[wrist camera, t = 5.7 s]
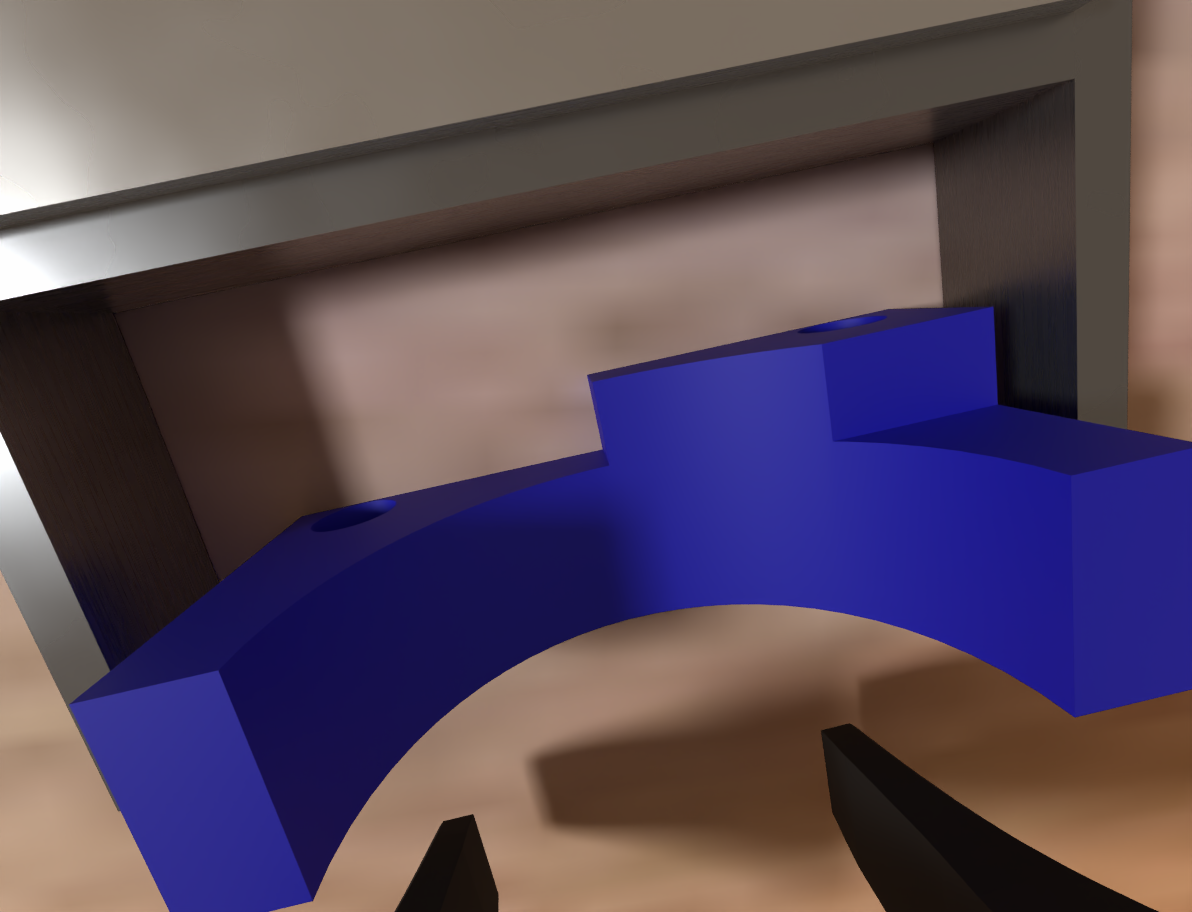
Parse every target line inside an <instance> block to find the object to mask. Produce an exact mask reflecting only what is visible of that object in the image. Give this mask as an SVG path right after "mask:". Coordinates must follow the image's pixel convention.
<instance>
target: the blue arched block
mask: <svg viewBox="0 0 1192 912" xmlns="http://www.w3.org/2000/svg"><path fill="white" fill-rule="evenodd" d="M587 376H588V381H589V386H590V391H591V395H592V400H593V405H594V410H595V414H596V419H597V424H598V429H599V433H600V438H601V443H602V448H603V450H598V451H594V452H589V453H585V454H580V455H576V456H571V457H567V458H562V459H558V460H553V461H549V462H544V463H540V464H535V465H531V466H526V467H522V468H517V469H513V470H508V471H504V472H499V473H495V474H490V475H486V476H481V477H477V478H472V479H468V480H463V481H459V482H454V483H450V484H445V485H441V486H436V487H431V488H427V489H422V490H418V491H413V492H409V493H404V494H400V495H395V496H391V497H386V498H382V499H377V500H373V501H368V502H364V503H359V504H355V505H350V506H346V507H341V508H337V509H332V510H328V511H323V512H319V513H314V514H310V515H305V516H302V517H300V518H299V519H298V520H297V521H295V522H294V523H293V524H292V525H291V526H289V527H288V528H287V529H286V530H284V531H283V532H282V533H281V534H279V535H278V536H277V537H276V538H274V539H273V540H272V541H271V542H269V543H268V544H267V545H266V546H265V547H263V548H262V549H261V550H260V551H258V552H257V553H256V554H255V555H253V556H252V557H251V558H250V559H248V560H247V561H246V562H245V563H243V564H242V565H241V566H240V567H239V568H237V569H236V570H235V571H234V572H232V573H231V574H230V575H229V576H227V577H226V578H225V579H224V580H222V581H221V582H220V583H219V584H217V585H216V586H215V587H214V588H213V589H211V590H210V591H209V592H208V593H206V594H205V595H204V596H203V597H201V598H200V599H199V600H198V601H196V602H195V603H194V604H193V605H191V606H190V607H189V608H188V609H187V610H185V611H184V612H183V613H182V614H180V615H179V616H178V617H177V618H175V619H174V620H173V621H172V622H170V623H169V624H168V625H167V626H165V627H164V628H163V629H162V630H161V631H159V632H158V633H157V634H156V635H154V636H153V637H152V638H151V639H149V640H148V641H147V642H146V643H144V644H143V645H142V646H141V647H140V648H138V649H137V650H136V651H135V652H133V653H132V654H131V655H130V656H128V657H127V658H126V659H125V660H123V661H122V662H121V663H120V664H118V665H117V666H116V667H115V668H114V669H112V670H111V671H110V672H109V673H107V674H106V675H105V676H104V677H102V678H101V679H100V680H99V681H97V682H96V683H95V684H94V685H92V686H91V687H90V688H89V689H88V690H86V691H85V692H84V693H83V694H81V695H80V696H79V697H78V698H76V699H75V700H74V701H73V702H71V703H70V704H69V706H70V708H71V710H72V712H73V714H74V716H75V718H76V720H77V722H78V724H79V727H80V729H81V731H82V733H83V735H84V737H85V739H86V741H87V743H88V745H89V747H90V749H91V751H92V753H93V755H94V757H95V759H96V761H97V763H98V766H99V768H100V770H101V772H102V774H103V776H104V778H105V780H106V782H107V784H108V786H109V788H110V790H111V792H112V794H113V796H114V798H115V800H116V802H117V805H118V807H119V809H120V811H121V813H122V815H123V817H124V819H125V821H126V823H127V825H128V827H129V829H130V831H131V833H132V835H133V837H134V839H135V842H136V844H137V846H138V848H139V850H140V852H141V854H142V856H143V858H144V860H145V862H146V864H147V866H148V868H149V870H150V872H151V874H152V876H153V878H154V881H155V883H156V885H157V887H158V889H159V891H160V893H161V895H162V897H163V899H164V901H165V903H166V905H167V907H168V909H169V911H170V912H269V911H273V910H277V909H281V908H286V907H290V906H294V905H298V904H302V903H306V902H310V901H313V899H314V897H315V895H316V893H317V891H318V888H319V886H320V884H321V882H322V880H323V877H324V875H325V873H326V871H327V869H328V866H329V864H330V862H331V860H332V858H333V857H334V855H335V853H336V851H337V849H338V848H339V846H340V844H341V842H342V840H343V839H344V837H345V835H346V833H347V831H348V830H349V828H350V826H351V825H352V823H353V822H354V820H355V819H356V817H357V816H358V814H359V813H360V811H361V810H362V808H363V807H364V805H365V804H366V802H367V801H368V799H369V798H370V796H371V795H372V794H373V792H374V791H375V790H376V788H377V787H378V786H379V785H380V783H381V782H382V781H383V780H384V778H385V777H386V776H387V774H388V773H389V772H390V771H391V769H392V768H393V767H394V766H395V765H396V764H397V763H398V761H399V760H400V759H401V758H402V757H403V756H404V755H405V754H406V753H407V752H408V750H409V749H410V748H411V747H412V746H413V745H414V744H415V743H416V742H417V741H418V740H419V739H420V738H421V737H422V736H423V735H424V734H425V733H426V732H427V731H428V730H429V729H430V728H431V727H432V726H434V725H435V724H436V723H437V722H438V721H439V720H440V719H441V718H443V717H444V716H445V715H446V714H447V713H449V712H450V711H451V710H452V709H453V708H454V707H456V706H457V705H458V704H459V703H460V702H462V701H463V700H465V699H466V698H467V697H469V696H470V695H471V694H473V693H474V692H475V691H477V690H478V689H479V688H481V687H482V686H484V685H485V684H487V683H488V682H490V681H491V680H493V679H494V678H496V677H497V676H499V675H501V674H502V673H504V672H505V671H507V670H509V669H510V668H512V667H514V666H516V665H517V664H519V663H521V662H523V661H525V660H526V659H528V658H530V657H532V656H534V655H536V654H538V653H540V652H542V651H544V650H546V649H548V648H550V647H552V646H554V645H557V644H559V643H562V642H564V641H566V640H569V639H571V638H574V637H576V636H578V635H581V634H584V633H587V632H590V631H592V630H595V629H598V628H601V627H604V626H607V625H611V624H614V623H618V622H621V621H625V620H628V619H632V618H637V617H641V616H645V615H650V614H654V613H660V612H665V611H671V610H677V609H684V608H693V607H701V606H714V605H730V604H765V605H786V606H796V607H805V608H815V609H821V610H827V611H833V612H840V613H845V614H850V615H854V616H859V617H863V618H868V619H872V620H876V621H880V622H883V623H887V624H890V625H894V626H897V627H901V628H904V629H907V630H910V631H913V632H916V633H918V634H921V635H924V636H927V637H930V638H933V639H935V640H938V641H940V642H943V643H945V644H947V645H950V646H952V647H954V648H957V649H959V650H961V651H964V652H966V653H968V654H971V655H973V656H975V657H977V658H979V659H981V660H983V661H984V662H986V663H988V664H990V665H992V666H994V667H996V668H998V669H1000V670H1002V671H1004V672H1006V673H1008V674H1009V675H1011V676H1013V677H1014V678H1016V679H1018V680H1019V681H1021V682H1023V683H1024V684H1026V685H1028V686H1029V687H1031V688H1033V689H1034V690H1036V691H1038V692H1039V693H1041V694H1042V695H1044V696H1045V697H1046V698H1048V699H1049V700H1051V701H1052V702H1053V703H1055V704H1056V705H1058V706H1059V707H1061V708H1062V709H1063V710H1065V711H1066V712H1068V713H1069V714H1071V715H1072V716H1073V717H1079V716H1083V715H1087V714H1091V713H1096V712H1100V711H1104V710H1108V709H1112V708H1116V707H1121V706H1125V705H1129V704H1133V703H1137V702H1141V701H1145V700H1150V699H1154V698H1158V697H1162V696H1166V695H1170V694H1175V693H1179V692H1183V691H1187V690H1191V689H1192V442H1189V441H1184V440H1179V439H1174V438H1169V437H1163V436H1158V435H1153V434H1148V433H1143V432H1137V431H1132V430H1127V429H1122V428H1117V427H1112V426H1106V425H1101V424H1096V423H1091V422H1086V421H1080V420H1075V419H1070V418H1065V417H1060V416H1055V415H1049V414H1044V413H1039V412H1034V411H1029V410H1023V409H1018V408H1013V407H1008V406H1003V405H998V397H997V375H996V352H995V330H994V308H993V307H958V308H918V309H887V310H883V311H878V312H874V313H869V314H864V315H860V316H855V317H851V318H846V319H841V320H837V321H832V322H828V323H823V324H818V325H814V326H809V327H805V328H800V329H795V330H791V331H786V332H782V333H777V334H773V335H768V336H763V337H759V338H754V339H750V340H745V341H740V342H736V343H731V344H727V345H722V346H717V347H713V348H708V349H704V350H699V351H694V352H690V353H685V354H681V355H676V356H672V357H667V358H662V359H658V360H653V361H649V362H644V363H639V364H635V365H630V366H626V367H621V368H616V369H612V370H607V371H603V372H598V373H593V374H589V375H587Z"/></svg>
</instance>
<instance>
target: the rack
mask: <svg viewBox="0 0 1192 912" xmlns="http://www.w3.org/2000/svg"><path fill="white" fill-rule="evenodd" d="M1131 62H1132V0H0V570H1V572H2V574H3V576H4V579H5V581H6V583H7V585H8V587H9V589H10V591H11V593H12V595H13V597H14V599H15V601H16V603H17V605H18V607H19V609H20V611H21V613H22V615H23V617H24V619H25V622H26V624H27V626H28V628H29V630H30V632H31V634H32V636H33V638H34V640H35V642H36V644H37V646H38V648H39V650H40V652H41V654H42V656H43V658H44V660H45V662H46V665H47V667H48V669H49V671H50V673H51V675H52V677H53V679H54V681H55V683H56V685H57V687H58V689H59V691H60V693H61V695H62V697H63V699H64V701H65V703H66V706H67V708H68V710H69V712H70V714H71V716H72V718H73V720H74V722H75V724H76V726H77V728H78V730H79V732H80V734H81V736H82V738H83V740H84V742H85V744H86V746H87V749H88V751H89V753H90V755H91V757H92V759H93V761H94V763H95V765H96V767H97V769H98V771H99V773H100V775H101V777H102V779H103V781H104V783H105V785H106V787H107V789H108V792H109V794H110V796H111V798H112V800H113V802H114V804H115V806H116V808H117V810H118V811H120V809H119V807H118V805H117V802H116V800H115V798H114V796H113V794H112V792H111V790H110V788H109V786H108V784H107V782H106V780H105V778H104V776H103V774H102V772H101V770H100V768H99V766H98V763H97V761H96V759H95V757H94V755H93V753H92V751H91V749H90V747H89V745H88V743H87V741H86V739H85V737H84V735H83V733H82V731H81V729H80V727H79V724H78V722H77V720H76V718H75V716H74V714H73V712H72V710H71V708H70V706H69V704H70V703H71V702H73V701H74V700H75V699H76V698H78V697H79V696H80V695H81V694H83V693H84V692H85V691H86V690H88V689H89V688H90V687H91V686H92V685H94V684H95V683H96V682H97V681H99V680H100V679H101V678H102V677H104V676H105V675H106V674H107V673H109V672H110V671H111V670H112V669H114V668H115V667H116V666H117V665H118V664H120V663H121V662H122V661H123V660H125V659H126V658H127V657H128V656H130V655H131V654H132V653H133V652H135V651H136V650H137V649H138V648H140V647H141V646H142V645H143V644H144V643H146V642H147V641H148V640H149V639H151V638H152V637H153V636H154V635H156V634H157V633H158V632H159V631H161V630H162V629H163V628H164V627H165V626H167V625H168V624H169V623H170V622H172V621H173V620H174V619H175V618H177V617H178V616H179V615H180V614H182V613H183V612H184V611H185V610H187V609H188V608H189V607H190V606H191V605H193V604H194V603H195V602H196V601H198V600H199V599H200V598H201V597H203V596H204V595H205V594H206V593H208V592H209V591H210V590H211V589H213V588H214V587H215V586H216V585H217V584H219V582H218V579H217V576H216V574H215V571H214V569H213V566H212V564H211V561H210V559H209V556H208V554H207V551H206V549H205V546H204V543H203V541H202V538H201V536H200V533H199V531H198V528H197V526H196V523H195V521H194V518H193V515H192V513H191V510H190V508H189V505H188V503H187V500H186V498H185V495H184V493H183V490H182V487H181V485H180V482H179V480H178V477H177V475H176V472H175V470H174V467H173V465H172V462H171V460H170V457H169V454H168V452H167V449H166V447H165V444H164V442H163V439H162V437H161V434H160V432H159V429H158V426H157V424H156V421H155V419H154V416H153V414H152V411H151V409H150V406H149V404H148V401H147V399H146V396H145V393H144V391H143V388H142V386H141V383H140V381H139V378H138V376H137V373H136V371H135V368H134V365H133V363H132V360H131V358H130V355H129V353H128V350H127V348H126V345H125V343H124V340H123V337H122V335H121V332H120V330H119V327H118V325H117V322H116V320H115V317H114V315H113V313H116V312H120V311H125V310H130V309H135V308H140V307H144V306H149V305H154V304H159V303H164V302H168V301H173V300H178V299H183V298H188V297H192V296H197V295H202V294H207V293H212V292H217V291H221V290H226V289H231V288H236V287H241V286H245V285H250V284H255V283H260V282H265V281H269V280H274V279H279V278H284V277H289V276H293V275H298V274H303V273H308V272H313V271H317V270H322V269H327V268H332V267H337V266H342V265H346V264H351V263H356V262H361V261H366V260H370V259H375V258H380V257H385V256H390V255H394V254H399V253H404V252H409V251H414V250H418V249H423V248H428V247H433V246H438V245H443V244H447V243H452V242H457V241H462V240H467V239H471V238H476V237H481V236H486V235H491V234H495V233H500V232H505V231H510V230H515V229H519V228H524V227H529V226H534V225H539V224H543V223H548V222H553V221H558V220H563V219H568V218H572V217H577V216H582V215H587V214H592V213H596V212H601V211H606V210H611V209H616V208H620V207H625V206H630V205H635V204H640V203H644V202H649V201H654V200H659V199H664V198H668V197H673V196H678V195H683V194H688V193H693V192H697V191H702V190H707V189H712V188H717V187H721V186H726V185H731V184H736V183H741V182H745V181H750V180H755V179H760V178H765V177H769V176H774V175H779V174H784V173H789V172H794V171H798V170H803V169H808V168H813V167H818V166H822V165H827V164H832V163H837V162H842V161H846V160H851V159H856V158H861V157H866V156H870V155H875V154H880V153H885V152H890V151H894V150H899V149H904V148H909V147H914V146H919V145H923V144H928V143H934V159H935V175H936V191H937V208H938V224H939V240H940V256H941V272H942V288H943V305H944V308H958V307H993V308H994V330H995V352H996V375H997V397H998V405H1003V406H1008V407H1013V408H1018V409H1023V410H1029V411H1034V412H1039V413H1044V414H1049V415H1055V416H1060V417H1065V418H1070V419H1075V420H1080V421H1086V422H1091V423H1096V424H1101V425H1106V426H1112V427H1117V428H1122V429H1127V402H1128V317H1129V232H1130V147H1131Z"/></svg>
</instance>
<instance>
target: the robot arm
mask: <svg viewBox="0 0 1192 912" xmlns="http://www.w3.org/2000/svg"><path fill="white" fill-rule="evenodd" d="M821 734H822V741H823V748H824V756H825V763H826V770H827V777H828V785H829V792H830V799H831V806H832V813H833V815H834V817H835V819H836V821H837V823H838V825H839V827H840V829H841V832H842V834H843V836H844V838H845V840H846V842H847V844H848V846H849V848H850V850H851V852H852V854H853V856H854V858H855V860H856V862H857V864H858V866H859V868H860V870H861V871H862V873H863V875H864V876H865V878H866V880H867V881H868V883H869V885H870V886H871V888H872V889H873V891H874V893H875V894H876V896H877V898H878V899H879V901H880V903H881V904H882V906H883V907H884V909H885V911H886V912H1158V911H1156V910H1154V909H1152V908H1149V907H1147V906H1145V905H1143V904H1141V903H1139V902H1137V901H1135V900H1132V899H1130V898H1128V897H1126V896H1124V895H1122V894H1120V893H1118V892H1116V891H1114V890H1112V889H1110V888H1107V887H1105V886H1103V885H1101V884H1099V883H1097V882H1095V881H1093V880H1091V879H1089V878H1087V877H1085V876H1083V875H1081V874H1079V873H1077V872H1075V871H1074V870H1072V869H1070V868H1068V867H1066V866H1064V865H1062V864H1061V863H1059V862H1057V861H1055V860H1053V859H1051V858H1050V857H1048V856H1046V855H1044V854H1042V853H1041V852H1039V851H1037V850H1035V849H1033V848H1032V847H1030V846H1028V845H1026V844H1024V843H1023V842H1021V841H1019V840H1018V839H1016V838H1014V837H1013V836H1011V835H1009V834H1008V833H1006V832H1004V831H1003V830H1001V829H1000V828H998V827H996V826H995V825H993V824H992V823H990V822H988V821H987V820H985V819H984V818H982V817H981V816H979V815H977V814H976V813H974V812H973V811H971V810H970V809H968V808H967V807H965V806H964V805H962V804H961V803H959V802H958V801H956V800H955V799H953V798H952V797H950V796H949V795H948V794H946V793H945V792H943V791H942V790H940V789H939V788H937V787H936V786H935V785H933V784H932V783H930V782H929V781H927V780H926V779H924V778H923V777H922V776H920V775H919V774H918V773H916V772H915V771H913V770H912V769H911V768H909V767H908V766H907V765H905V764H904V763H902V762H901V761H900V760H898V759H897V758H896V757H894V756H893V755H892V754H890V753H889V752H888V751H886V750H885V749H884V748H882V747H881V746H880V745H878V744H877V743H876V742H875V741H873V740H872V739H871V738H869V737H868V736H867V735H865V734H864V733H863V732H861V731H860V730H859V729H857V728H856V727H855V726H853V725H852V724H845V725H841V726H837V727H833V728H829V729H825V730H821ZM395 912H498V891H497V888H496V885H495V882H494V878H493V875H492V872H491V869H490V866H489V863H488V859H487V856H486V853H485V850H484V847H483V843H482V840H481V837H480V834H479V831H478V828H477V824H476V821H475V818H474V815H473V814H472V815H468V816H463V817H459V818H455V819H451V820H447V821H443V823H442V824H441V826H440V827H439V829H438V831H437V833H436V835H435V837H434V839H433V841H432V843H431V845H430V846H429V848H428V850H427V852H426V854H425V856H424V858H423V860H422V862H421V864H420V866H419V868H418V870H417V872H416V873H415V875H414V877H413V879H412V881H411V883H410V885H409V887H408V888H407V890H406V892H405V894H404V896H403V898H402V899H401V901H400V903H399V905H398V907H397V908H396V910H395Z"/></svg>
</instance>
